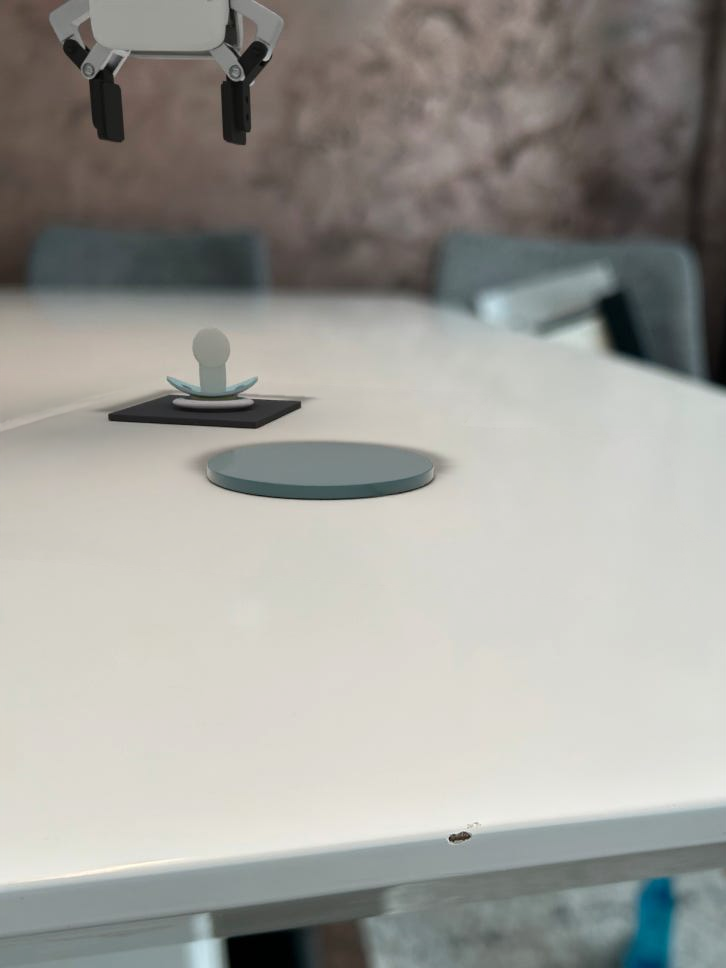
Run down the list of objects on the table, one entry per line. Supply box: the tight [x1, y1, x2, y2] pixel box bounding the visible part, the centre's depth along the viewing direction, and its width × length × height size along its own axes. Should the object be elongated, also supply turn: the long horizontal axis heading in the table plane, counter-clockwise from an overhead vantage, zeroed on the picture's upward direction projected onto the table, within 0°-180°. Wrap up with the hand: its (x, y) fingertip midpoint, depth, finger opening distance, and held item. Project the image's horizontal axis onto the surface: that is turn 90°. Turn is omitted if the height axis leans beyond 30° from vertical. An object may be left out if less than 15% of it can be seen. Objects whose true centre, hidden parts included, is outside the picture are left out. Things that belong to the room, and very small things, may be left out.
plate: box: [206, 441, 435, 500], centre depth 69 cm, size 14×14×1 cm
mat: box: [107, 394, 302, 429], centre depth 91 cm, size 12×12×1 cm
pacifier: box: [166, 326, 259, 409], centre depth 90 cm, size 7×6×6 cm
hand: (172, 142), depth 82 cm, fingers open, 9 cm apart
